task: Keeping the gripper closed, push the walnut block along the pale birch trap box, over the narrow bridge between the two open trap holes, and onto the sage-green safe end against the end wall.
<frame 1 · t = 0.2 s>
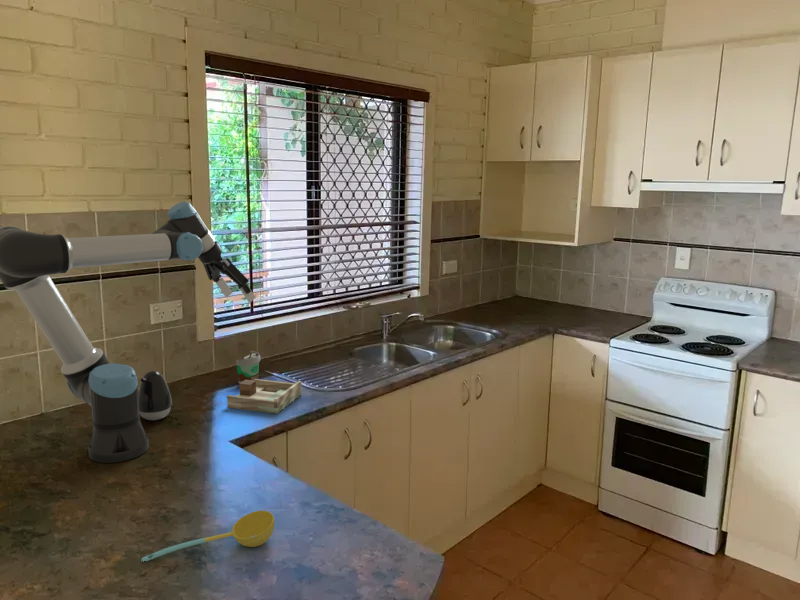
hand: (240, 297, 206), 35 cm above the worktop, fingers open, 13 cm apart
walnut block: (248, 393, 210), point 2 cm above the worktop, touching trap box
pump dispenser: (155, 417, 194), on the worktop
trap box: (265, 401, 208), on the worktop
food container: (252, 382, 227), on the worktop
ladle: (210, 551, 127), on the worktop
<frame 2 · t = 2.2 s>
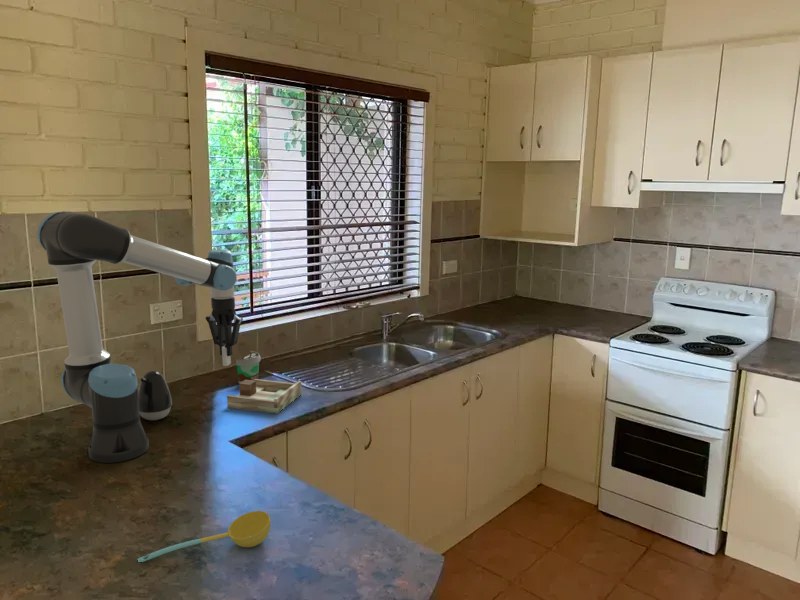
hand: (226, 364, 210), 11 cm above the worktop, fingers closed
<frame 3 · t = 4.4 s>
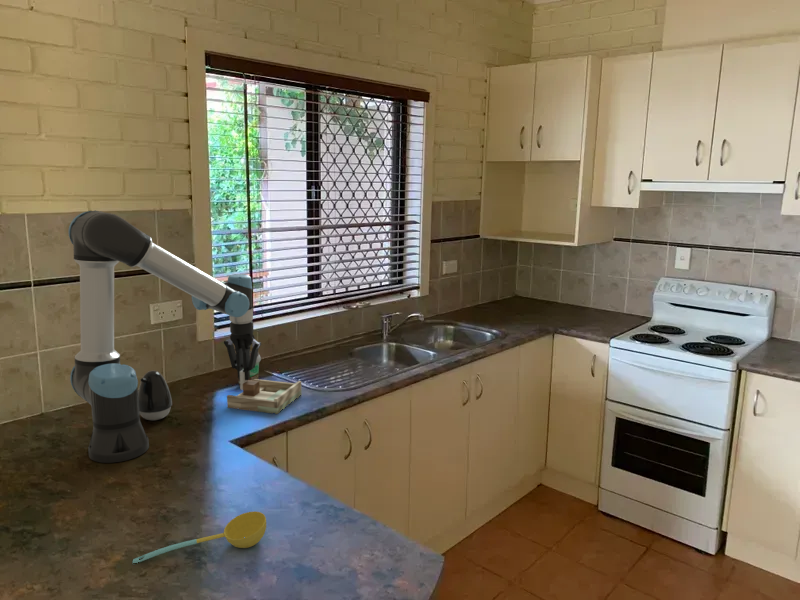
hand: (244, 388, 210), 4 cm above the worktop, fingers closed
walnut block: (251, 393, 209), point 2 cm above the worktop, touching gripper
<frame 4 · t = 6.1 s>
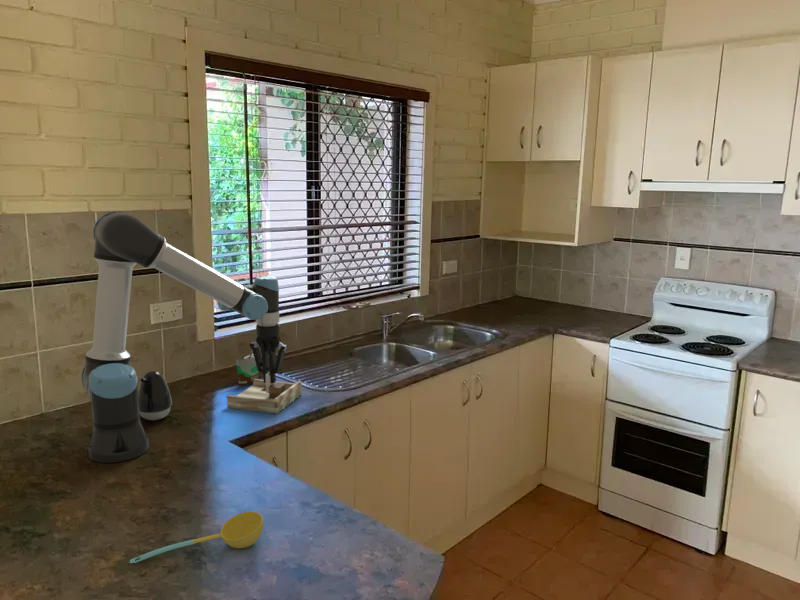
hand: (269, 391, 207), 3 cm above the worktop, fingers closed
walnut block: (277, 396, 207), point 2 cm above the worktop, touching gripper, trap box
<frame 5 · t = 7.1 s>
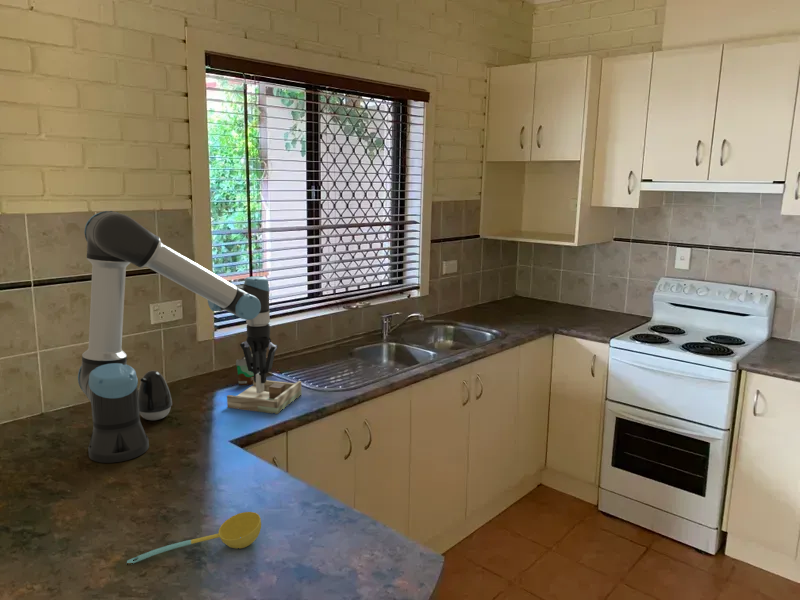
hand: (260, 391, 208), 3 cm above the worktop, fingers closed
walnut block: (277, 396, 207), point 2 cm above the worktop, touching trap box
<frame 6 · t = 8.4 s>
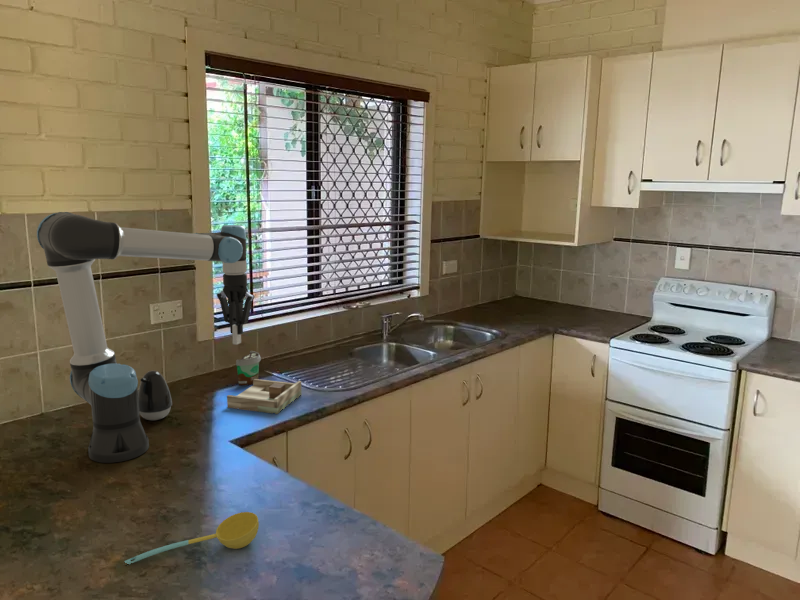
hand: (237, 343, 205), 20 cm above the worktop, fingers closed
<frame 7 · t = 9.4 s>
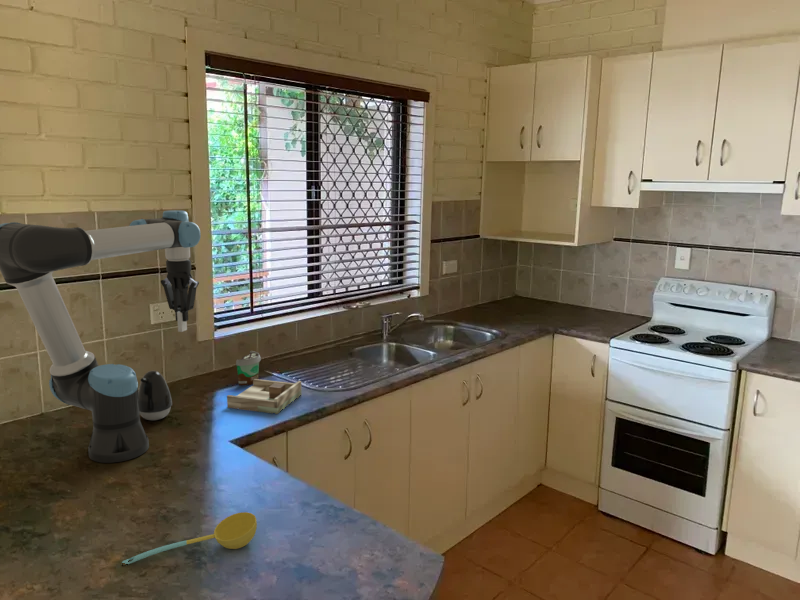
hand: (182, 330, 203), 24 cm above the worktop, fingers closed
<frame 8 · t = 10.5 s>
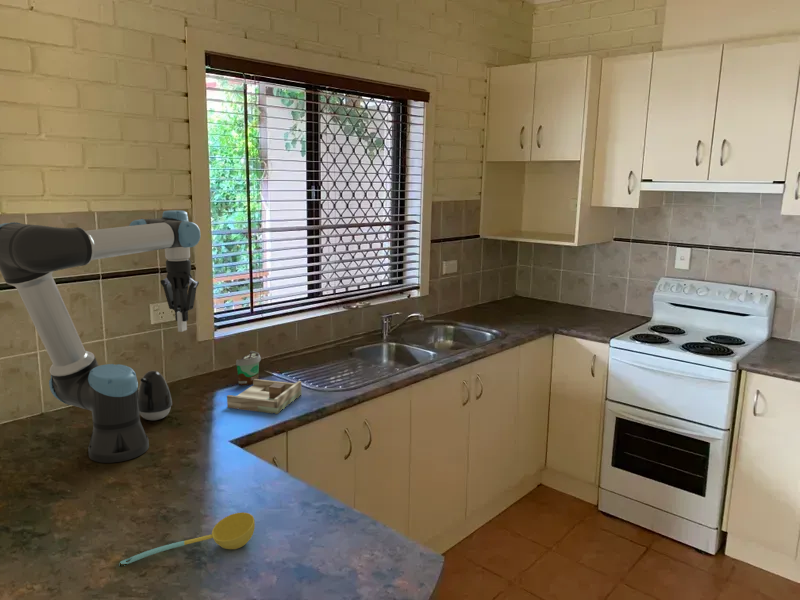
hand: (182, 330, 203), 24 cm above the worktop, fingers closed
at the end: walnut block inside the target area (1.1 cm from its centre), point 2.0 cm above the worktop; walnut block tilted 0° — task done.
